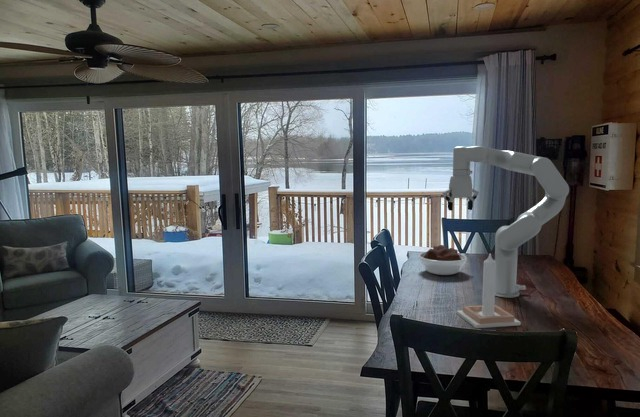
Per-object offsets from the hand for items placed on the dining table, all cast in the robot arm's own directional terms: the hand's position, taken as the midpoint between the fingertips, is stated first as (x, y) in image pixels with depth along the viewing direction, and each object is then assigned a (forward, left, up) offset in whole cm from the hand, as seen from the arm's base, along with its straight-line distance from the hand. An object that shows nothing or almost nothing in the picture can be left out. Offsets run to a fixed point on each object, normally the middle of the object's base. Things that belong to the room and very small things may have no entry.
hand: (460, 210), depth 211 cm
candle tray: (+6, +39, -38) cm, 55 cm away
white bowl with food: (-5, -30, -39) cm, 49 cm away
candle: (+6, +38, -37) cm, 54 cm away
